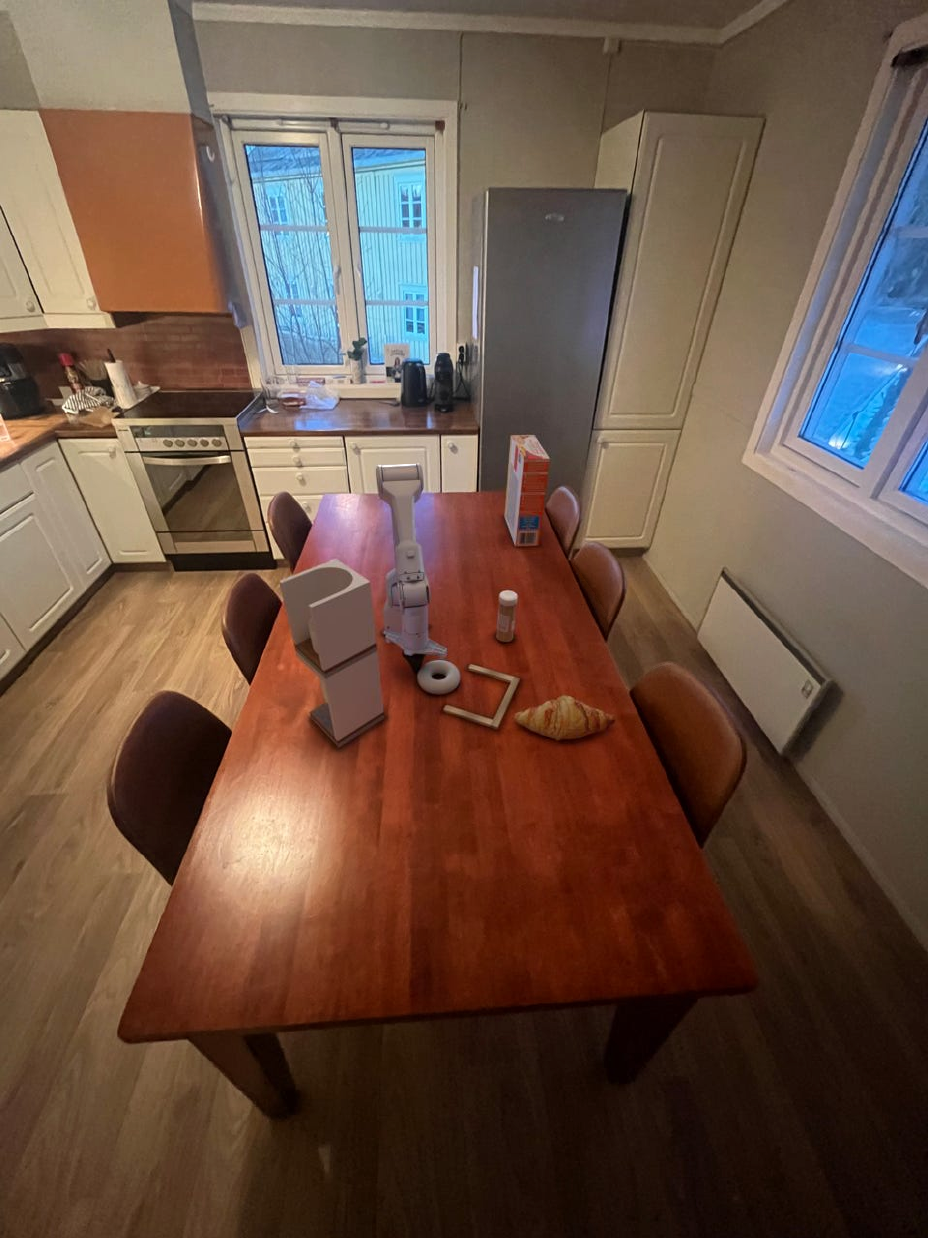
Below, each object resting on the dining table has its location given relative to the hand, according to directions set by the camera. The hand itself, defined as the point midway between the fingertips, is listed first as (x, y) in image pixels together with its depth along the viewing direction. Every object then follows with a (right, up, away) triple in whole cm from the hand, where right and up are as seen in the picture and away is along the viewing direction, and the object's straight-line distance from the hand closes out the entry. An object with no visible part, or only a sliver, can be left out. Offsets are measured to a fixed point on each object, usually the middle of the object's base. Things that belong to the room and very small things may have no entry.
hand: (417, 672), depth 118 cm
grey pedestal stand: (-14, -9, -10) cm, 20 cm away
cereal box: (+31, +44, +61) cm, 82 cm away
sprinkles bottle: (+22, +8, +13) cm, 26 cm away
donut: (+5, -2, -1) cm, 6 cm away
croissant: (+32, -10, -10) cm, 35 cm away
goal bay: (+15, -5, -4) cm, 16 cm away
